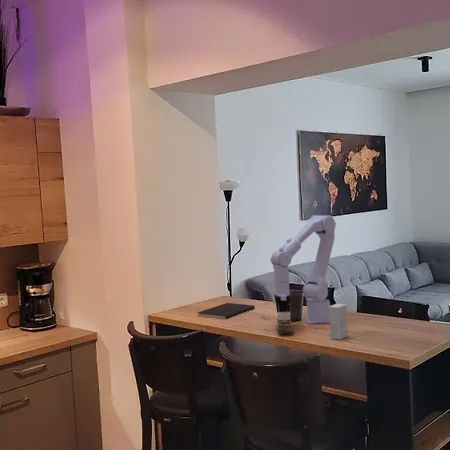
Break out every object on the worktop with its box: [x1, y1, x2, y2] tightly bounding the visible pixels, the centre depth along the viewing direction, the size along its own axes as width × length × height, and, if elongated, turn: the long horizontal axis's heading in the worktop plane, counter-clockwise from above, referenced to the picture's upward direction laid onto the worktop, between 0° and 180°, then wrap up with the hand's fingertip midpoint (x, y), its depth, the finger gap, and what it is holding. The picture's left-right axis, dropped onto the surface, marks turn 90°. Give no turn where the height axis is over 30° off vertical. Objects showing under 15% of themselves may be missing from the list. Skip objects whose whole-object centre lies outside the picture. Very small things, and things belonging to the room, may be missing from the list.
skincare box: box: [329, 303, 349, 341], centre depth 213 cm, size 6×4×12 cm
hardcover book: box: [196, 302, 256, 320], centre depth 267 cm, size 16×23×2 cm
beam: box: [276, 317, 294, 335], centre depth 227 cm, size 6×14×4 cm, turn 178°
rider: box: [277, 311, 291, 322], centre depth 229 cm, size 5×4×3 cm
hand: (283, 315), depth 232 cm, fingers closed
